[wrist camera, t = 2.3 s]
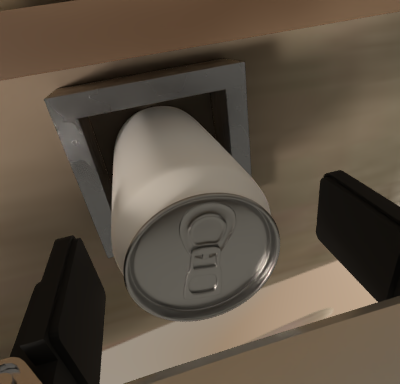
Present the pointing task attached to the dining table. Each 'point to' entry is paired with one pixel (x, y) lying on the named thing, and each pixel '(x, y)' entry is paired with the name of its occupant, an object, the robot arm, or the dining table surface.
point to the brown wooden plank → (152, 27)
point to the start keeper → (138, 96)
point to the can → (186, 219)
